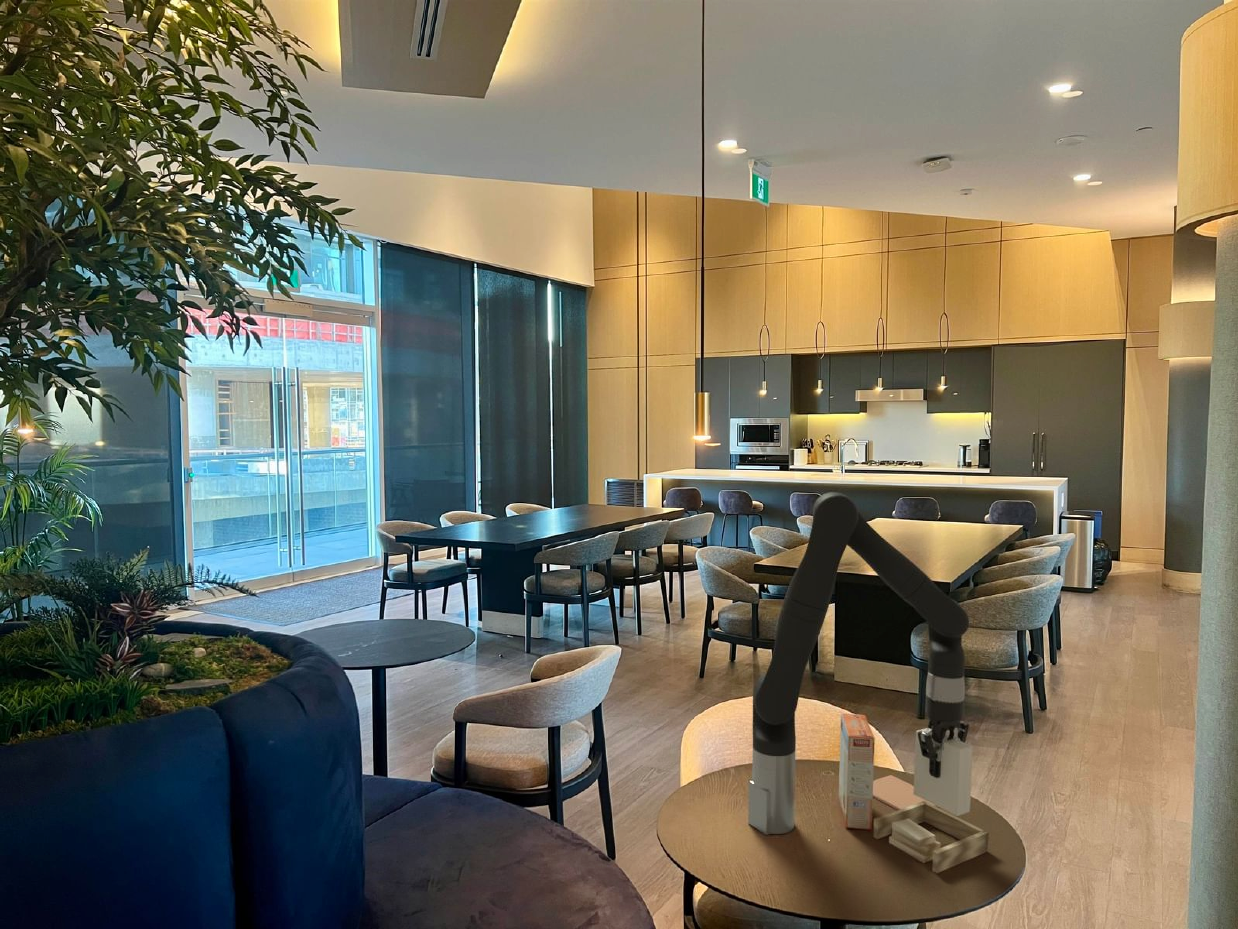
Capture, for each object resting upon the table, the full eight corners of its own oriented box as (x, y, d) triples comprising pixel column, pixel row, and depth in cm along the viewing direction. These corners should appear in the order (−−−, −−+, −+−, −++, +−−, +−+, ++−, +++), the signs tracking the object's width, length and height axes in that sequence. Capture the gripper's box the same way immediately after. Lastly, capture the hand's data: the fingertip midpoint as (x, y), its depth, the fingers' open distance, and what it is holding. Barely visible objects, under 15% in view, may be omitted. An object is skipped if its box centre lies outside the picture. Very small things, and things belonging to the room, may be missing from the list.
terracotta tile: (910, 816, 183) (910, 814, 183) (856, 788, 196) (856, 786, 196) (945, 804, 189) (945, 801, 189) (890, 777, 202) (890, 775, 202)
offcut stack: (923, 864, 164) (924, 843, 163) (888, 843, 172) (889, 823, 171) (941, 858, 166) (942, 836, 166) (905, 837, 174) (906, 817, 174)
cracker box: (873, 831, 176) (875, 737, 175) (845, 829, 177) (846, 735, 176) (864, 801, 190) (866, 713, 189) (837, 799, 191) (839, 712, 190)
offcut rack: (936, 873, 160) (937, 853, 160) (873, 837, 174) (874, 818, 174) (988, 851, 168) (988, 832, 168) (923, 818, 182) (924, 801, 182)
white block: (957, 816, 167) (959, 749, 166) (913, 794, 176) (915, 731, 175) (969, 811, 169) (972, 745, 168) (925, 790, 178) (928, 727, 177)
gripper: (951, 684, 178) (948, 760, 179) (907, 694, 170) (904, 774, 171) (982, 694, 171) (979, 774, 172) (937, 706, 164) (934, 789, 165)
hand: (942, 773), depth 172 cm, fingers closed on white block, 4 cm apart
